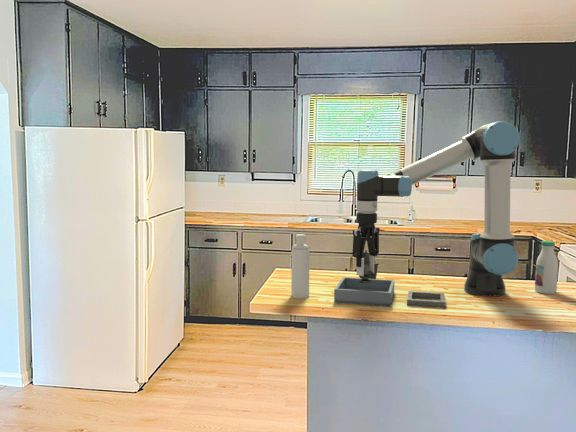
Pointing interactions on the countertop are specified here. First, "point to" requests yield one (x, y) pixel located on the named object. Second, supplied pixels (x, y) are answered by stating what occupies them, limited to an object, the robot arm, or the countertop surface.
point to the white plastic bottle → (300, 268)
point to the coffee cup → (375, 270)
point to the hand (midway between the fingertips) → (365, 274)
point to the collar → (426, 302)
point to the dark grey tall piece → (366, 269)
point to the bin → (364, 292)
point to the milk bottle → (546, 269)
